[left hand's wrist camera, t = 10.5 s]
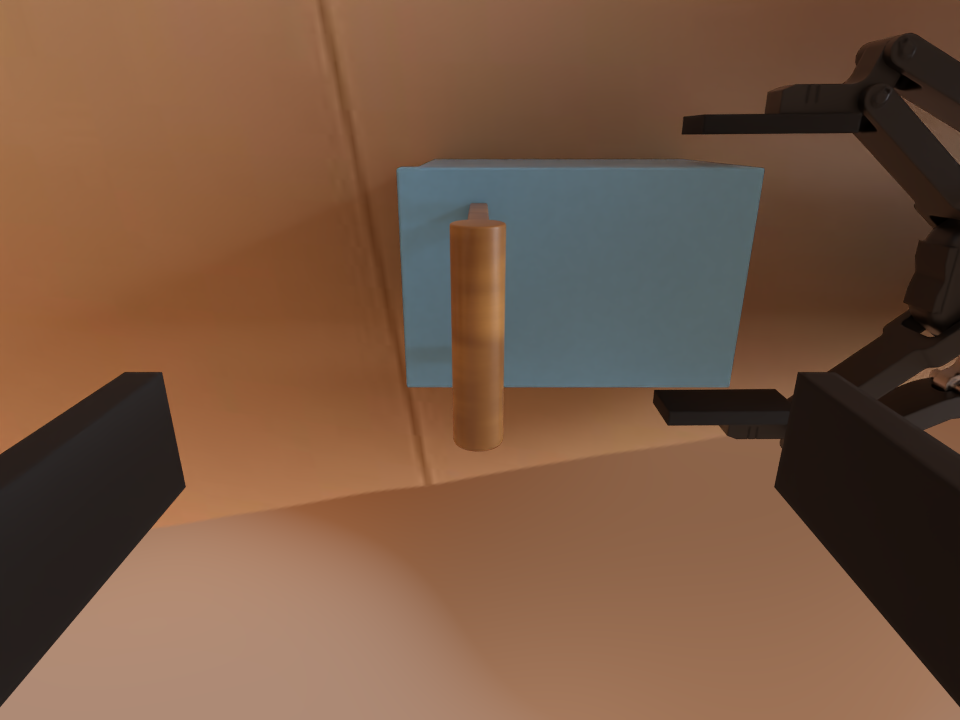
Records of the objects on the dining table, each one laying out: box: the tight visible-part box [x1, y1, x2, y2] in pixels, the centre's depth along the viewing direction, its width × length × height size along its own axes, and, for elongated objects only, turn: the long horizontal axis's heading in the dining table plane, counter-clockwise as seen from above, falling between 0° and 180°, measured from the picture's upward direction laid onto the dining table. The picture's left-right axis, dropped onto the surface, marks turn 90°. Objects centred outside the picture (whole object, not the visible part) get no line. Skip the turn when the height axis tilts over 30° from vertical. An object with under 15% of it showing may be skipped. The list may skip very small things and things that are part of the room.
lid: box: [396, 167, 765, 451], centre depth 21 cm, size 14×9×9 cm, turn 90°
